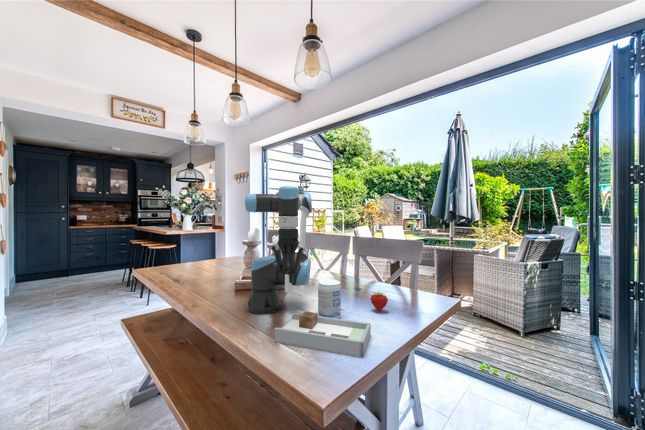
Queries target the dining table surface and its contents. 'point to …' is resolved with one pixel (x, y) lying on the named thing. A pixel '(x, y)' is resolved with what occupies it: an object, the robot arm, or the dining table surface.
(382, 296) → the strawberry
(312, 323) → the walnut block
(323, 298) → the supplement tub
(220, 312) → the dining table surface
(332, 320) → the box
